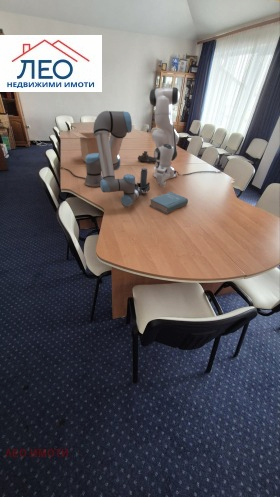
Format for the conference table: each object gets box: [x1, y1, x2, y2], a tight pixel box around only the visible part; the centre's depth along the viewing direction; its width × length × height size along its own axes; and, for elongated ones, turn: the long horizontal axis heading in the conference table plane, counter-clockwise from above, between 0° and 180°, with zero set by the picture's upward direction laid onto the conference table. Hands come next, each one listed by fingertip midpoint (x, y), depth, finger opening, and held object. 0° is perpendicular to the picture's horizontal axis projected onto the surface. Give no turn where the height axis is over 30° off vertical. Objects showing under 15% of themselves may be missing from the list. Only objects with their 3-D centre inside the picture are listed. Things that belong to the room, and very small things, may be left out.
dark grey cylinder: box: [139, 167, 148, 196], centre depth 168 cm, size 5×5×20 cm
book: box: [149, 191, 189, 214], centre depth 157 cm, size 23×16×5 cm
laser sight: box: [137, 150, 156, 164], centre depth 243 cm, size 10×22×10 cm, turn 78°
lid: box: [158, 181, 167, 188], centre depth 177 cm, size 6×6×2 cm
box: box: [70, 129, 111, 163], centre depth 229 cm, size 44×36×27 cm
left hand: (145, 183), depth 174 cm, fingers closed on dark grey cylinder, 5 cm apart
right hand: (162, 185), depth 178 cm, fingers closed on lid, 5 cm apart
